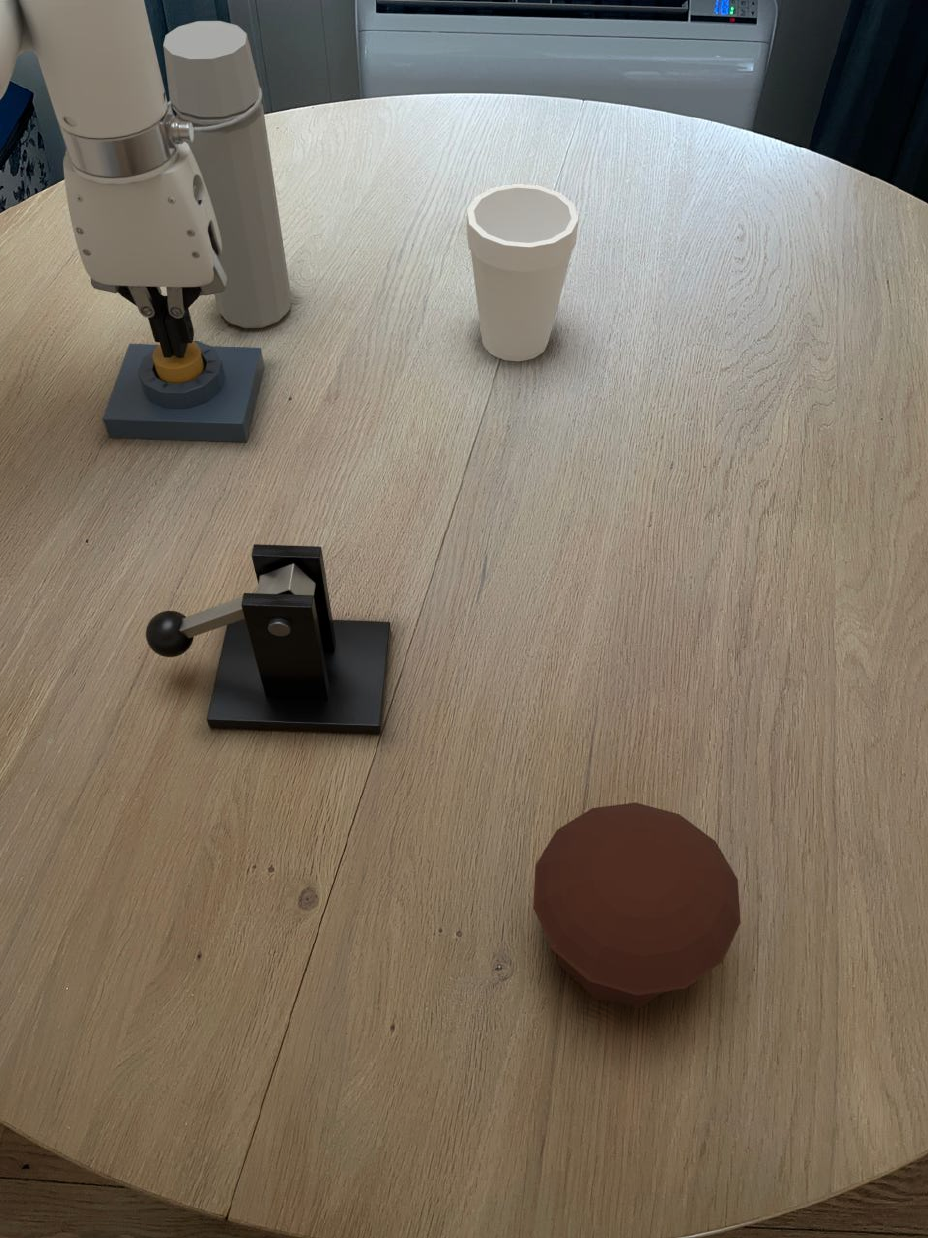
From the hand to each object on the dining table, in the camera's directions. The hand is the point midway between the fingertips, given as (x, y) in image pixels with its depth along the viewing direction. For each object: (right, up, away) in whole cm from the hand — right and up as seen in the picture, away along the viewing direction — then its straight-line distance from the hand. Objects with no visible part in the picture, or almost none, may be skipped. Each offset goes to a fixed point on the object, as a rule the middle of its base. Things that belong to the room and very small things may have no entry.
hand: (177, 346), depth 88 cm
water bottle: (+3, +7, +13) cm, 15 cm away
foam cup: (+29, +3, +10) cm, 31 cm away
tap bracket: (+13, -27, -13) cm, 33 cm away
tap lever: (+9, -24, -18) cm, 31 cm away
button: (0, -1, +2) cm, 2 cm away
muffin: (+34, -43, -24) cm, 59 cm away
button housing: (0, -4, +5) cm, 6 cm away
